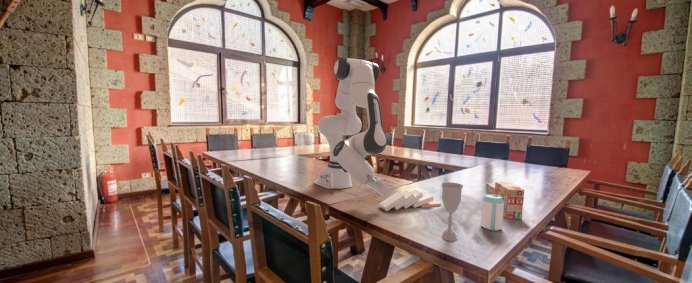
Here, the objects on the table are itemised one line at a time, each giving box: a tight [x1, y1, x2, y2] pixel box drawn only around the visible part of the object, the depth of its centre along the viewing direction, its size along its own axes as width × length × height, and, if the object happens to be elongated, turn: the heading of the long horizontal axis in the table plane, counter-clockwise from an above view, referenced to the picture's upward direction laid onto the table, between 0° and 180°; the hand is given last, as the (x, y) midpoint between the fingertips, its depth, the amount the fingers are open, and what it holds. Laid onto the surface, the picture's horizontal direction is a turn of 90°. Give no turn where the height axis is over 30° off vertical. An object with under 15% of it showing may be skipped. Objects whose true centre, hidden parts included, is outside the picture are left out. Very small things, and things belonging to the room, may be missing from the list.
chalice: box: [440, 182, 464, 242], centre depth 98 cm, size 7×7×18 cm
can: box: [480, 193, 504, 232], centre depth 108 cm, size 7×7×12 cm
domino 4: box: [410, 192, 435, 209], centre depth 132 cm, size 2×6×10 cm
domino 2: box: [392, 190, 415, 211], centre depth 129 cm, size 2×6×10 cm
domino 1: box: [378, 191, 406, 212], centre depth 127 cm, size 2×6×10 cm
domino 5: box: [419, 199, 442, 208], centre depth 134 cm, size 2×6×10 cm
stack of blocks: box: [485, 181, 525, 220], centre depth 128 cm, size 21×6×12 cm, turn 175°
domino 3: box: [401, 189, 424, 210], centre depth 130 cm, size 2×6×10 cm
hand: (384, 194), depth 126 cm, fingers closed
